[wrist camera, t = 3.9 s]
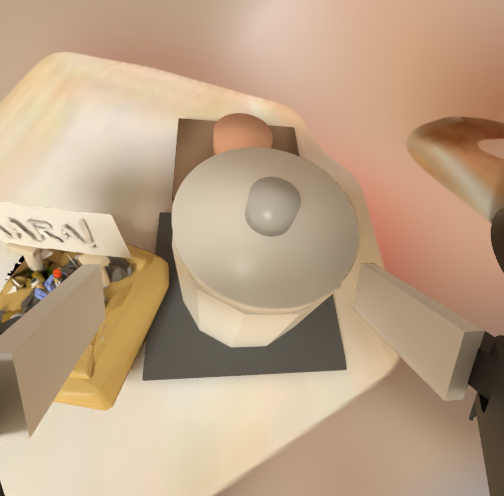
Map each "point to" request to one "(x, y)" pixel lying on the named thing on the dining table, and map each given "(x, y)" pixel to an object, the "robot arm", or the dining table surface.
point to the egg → (240, 133)
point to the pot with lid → (259, 243)
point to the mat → (222, 356)
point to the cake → (114, 288)
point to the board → (201, 146)
